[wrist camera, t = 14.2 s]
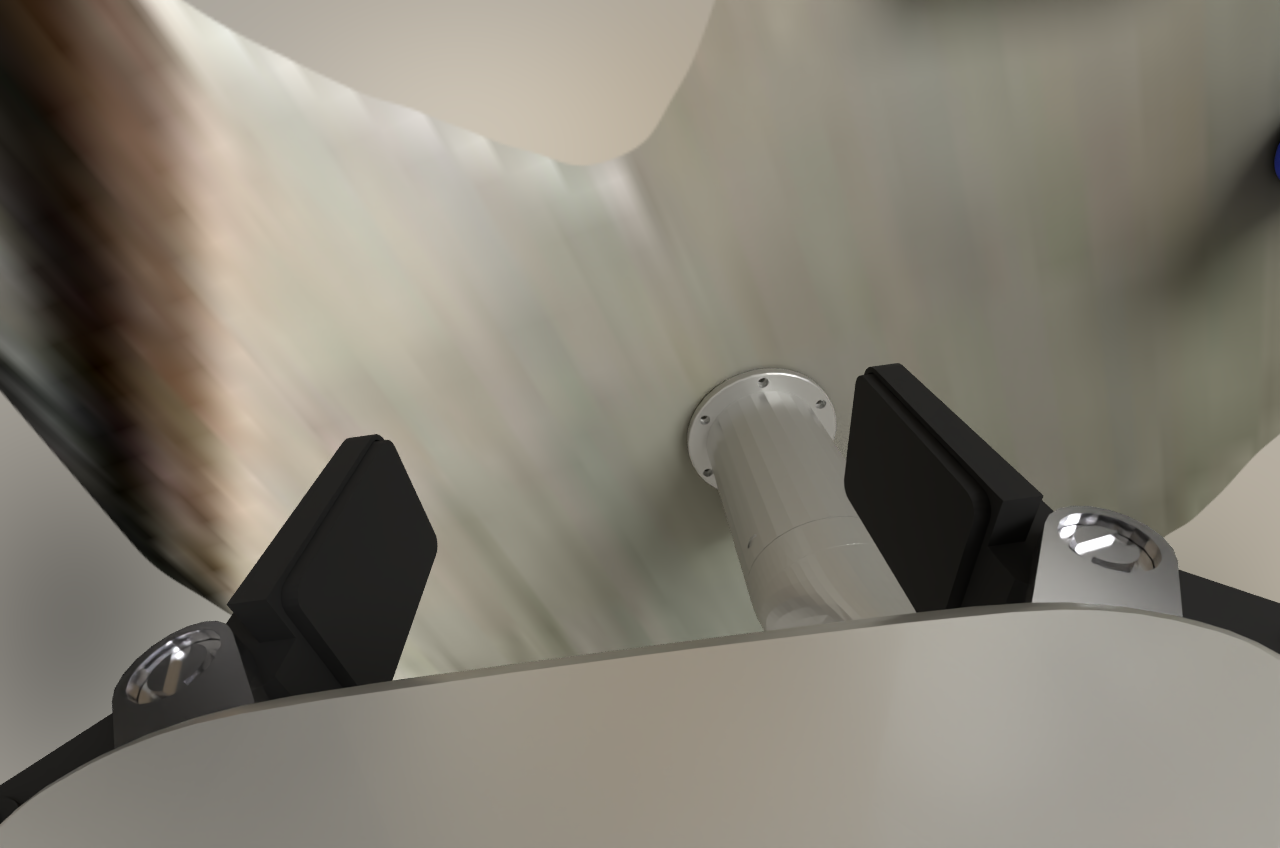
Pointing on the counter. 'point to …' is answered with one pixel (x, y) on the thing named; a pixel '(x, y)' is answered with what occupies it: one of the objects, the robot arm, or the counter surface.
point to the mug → (1277, 161)
